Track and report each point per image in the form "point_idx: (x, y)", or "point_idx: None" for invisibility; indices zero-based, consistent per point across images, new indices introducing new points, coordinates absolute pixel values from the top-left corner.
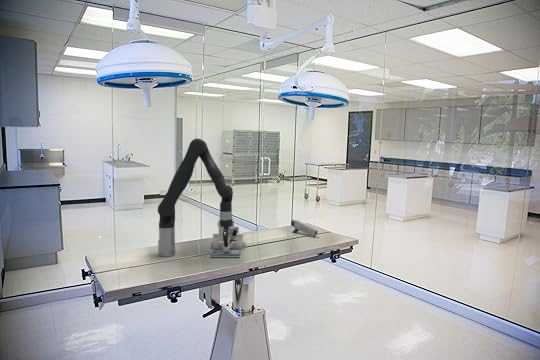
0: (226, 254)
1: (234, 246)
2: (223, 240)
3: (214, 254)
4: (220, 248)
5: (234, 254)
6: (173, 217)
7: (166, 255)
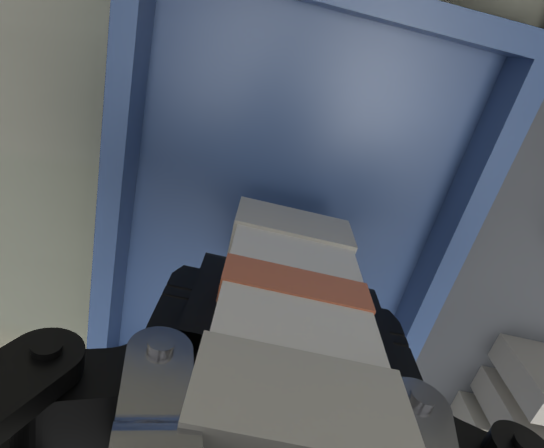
0: (95, 224)
1: (488, 385)
2: (21, 338)
3: (111, 10)
4: (480, 173)
5: (88, 327)
6: None
7: None
